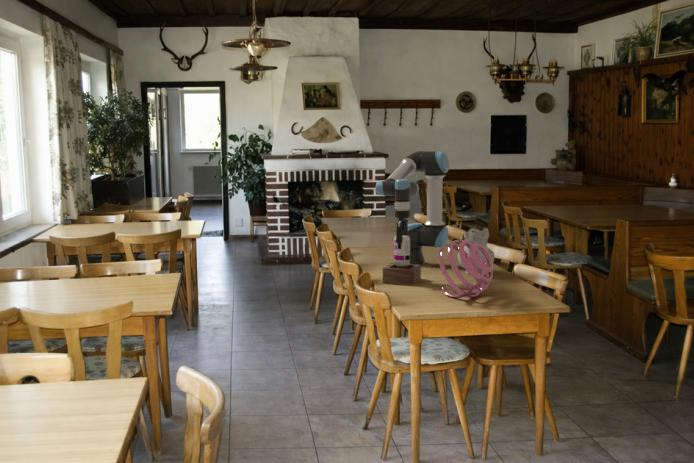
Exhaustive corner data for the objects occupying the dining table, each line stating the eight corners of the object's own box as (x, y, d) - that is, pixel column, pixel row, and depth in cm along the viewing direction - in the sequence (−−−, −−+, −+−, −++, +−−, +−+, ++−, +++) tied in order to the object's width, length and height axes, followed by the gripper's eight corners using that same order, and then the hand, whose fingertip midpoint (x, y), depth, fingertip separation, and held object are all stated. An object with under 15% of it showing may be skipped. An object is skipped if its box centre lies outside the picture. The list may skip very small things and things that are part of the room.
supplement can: (397, 266, 388) (397, 237, 386) (391, 263, 396) (392, 235, 393) (412, 265, 390) (412, 236, 388) (406, 263, 398) (406, 234, 396)
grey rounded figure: (492, 280, 400) (497, 233, 397) (454, 275, 404) (459, 229, 400) (492, 272, 421) (497, 227, 418) (457, 268, 425) (461, 224, 421)
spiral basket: (413, 253, 361) (456, 225, 346) (449, 260, 381) (491, 233, 366) (432, 307, 349) (477, 280, 334) (467, 310, 369) (512, 285, 354)
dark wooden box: (391, 276, 404) (391, 262, 403) (420, 278, 399) (420, 264, 398) (382, 282, 389) (382, 268, 388) (413, 284, 384) (413, 270, 383)
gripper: (400, 207, 400) (400, 250, 403) (389, 211, 380) (389, 256, 383) (414, 207, 397) (414, 250, 401) (404, 212, 378) (404, 257, 381)
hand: (402, 253), depth 392 cm, fingers closed on supplement can, 8 cm apart
